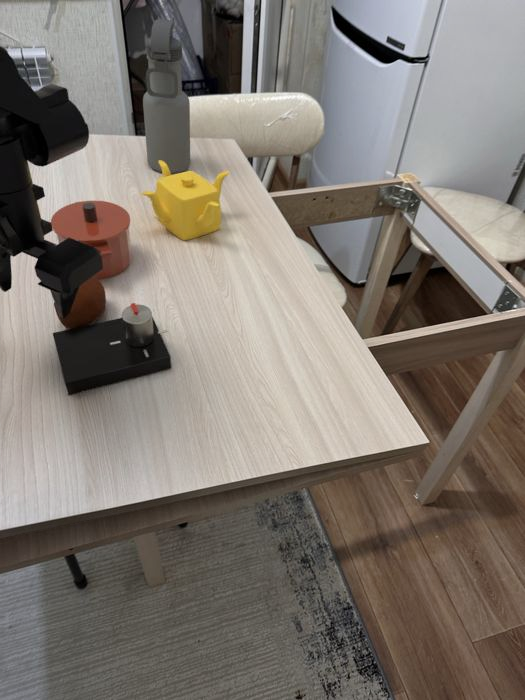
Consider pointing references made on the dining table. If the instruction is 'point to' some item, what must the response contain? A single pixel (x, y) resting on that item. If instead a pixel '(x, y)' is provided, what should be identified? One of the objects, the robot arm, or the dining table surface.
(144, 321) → the hob knob
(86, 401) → the dining table surface
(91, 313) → the potato
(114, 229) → the pot lid
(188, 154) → the water bottle
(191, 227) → the teapot
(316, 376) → the dining table surface
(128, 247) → the pot
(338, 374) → the dining table surface
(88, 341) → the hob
